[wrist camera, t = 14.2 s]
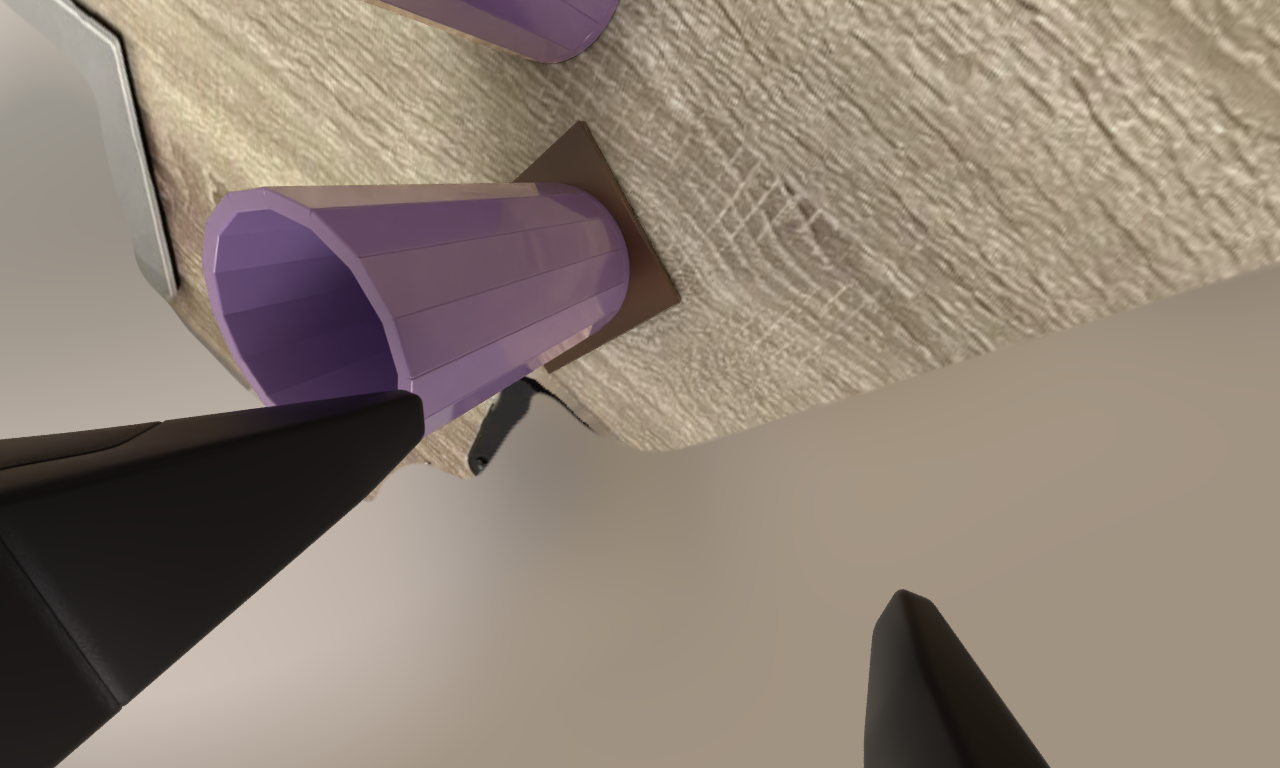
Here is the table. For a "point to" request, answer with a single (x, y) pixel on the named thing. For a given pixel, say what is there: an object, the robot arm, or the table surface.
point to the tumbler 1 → (515, 23)
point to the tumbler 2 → (409, 287)
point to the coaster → (648, 279)
